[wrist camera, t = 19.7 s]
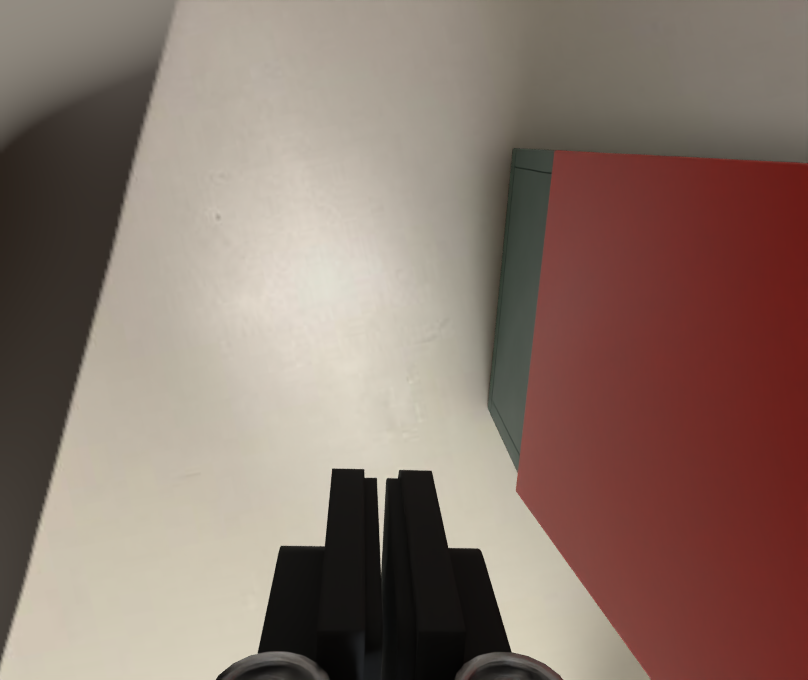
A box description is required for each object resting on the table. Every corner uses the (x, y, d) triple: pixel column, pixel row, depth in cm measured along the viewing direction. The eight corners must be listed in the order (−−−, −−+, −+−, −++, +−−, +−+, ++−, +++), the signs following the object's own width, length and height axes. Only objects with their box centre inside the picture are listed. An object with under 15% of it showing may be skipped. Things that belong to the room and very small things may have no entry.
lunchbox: (882, 169, 31) (1044, 177, 24) (820, 418, 35) (944, 493, 28) (512, 148, 30) (561, 150, 23) (487, 408, 34) (522, 484, 26)
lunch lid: (1671, 207, 5) (1606, 203, 5) (1094, 1210, 9) (1041, 1228, 8) (577, 151, 22) (553, 149, 22) (535, 489, 26) (515, 491, 26)
